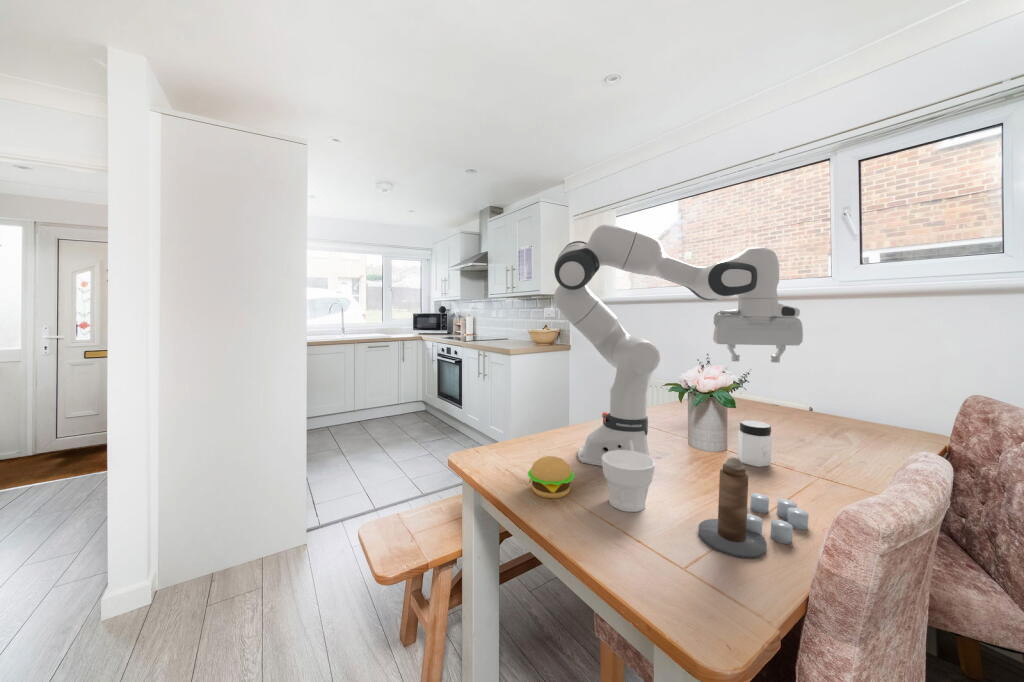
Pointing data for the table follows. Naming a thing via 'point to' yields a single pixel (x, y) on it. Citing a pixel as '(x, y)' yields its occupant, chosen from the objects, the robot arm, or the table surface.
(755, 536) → the disc
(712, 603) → the table surface
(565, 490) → the hamburger
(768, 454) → the jar
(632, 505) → the cup
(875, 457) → the table surface
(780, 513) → the tealight cups
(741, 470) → the pepper mill
